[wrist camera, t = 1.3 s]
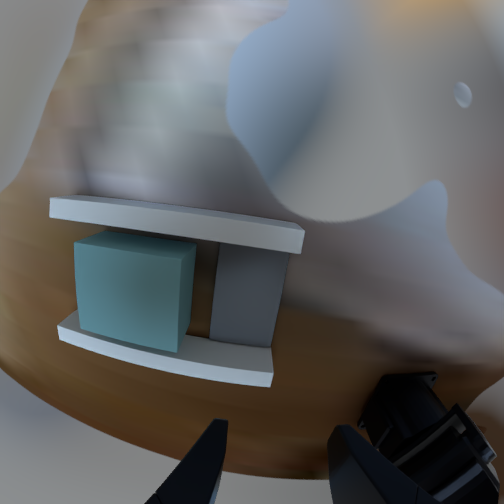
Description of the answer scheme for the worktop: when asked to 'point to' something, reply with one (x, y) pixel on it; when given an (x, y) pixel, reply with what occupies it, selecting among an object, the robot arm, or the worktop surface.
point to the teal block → (135, 288)
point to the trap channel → (225, 293)
